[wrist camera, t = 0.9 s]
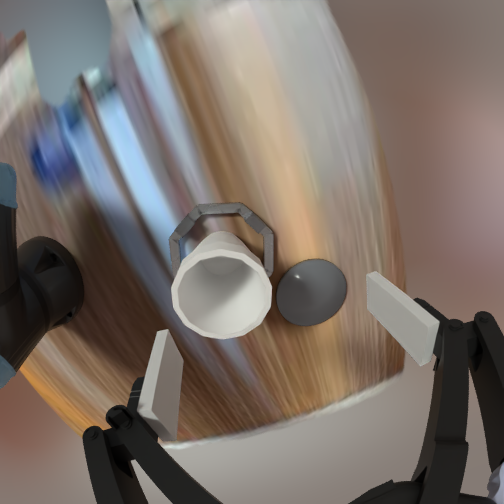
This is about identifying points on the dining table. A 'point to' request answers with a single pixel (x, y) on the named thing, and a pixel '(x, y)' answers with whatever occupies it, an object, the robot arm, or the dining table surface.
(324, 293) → the coaster
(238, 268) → the foam cup
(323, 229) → the dining table surface
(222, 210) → the collar
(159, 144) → the dining table surface
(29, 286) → the robot arm
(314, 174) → the dining table surface
